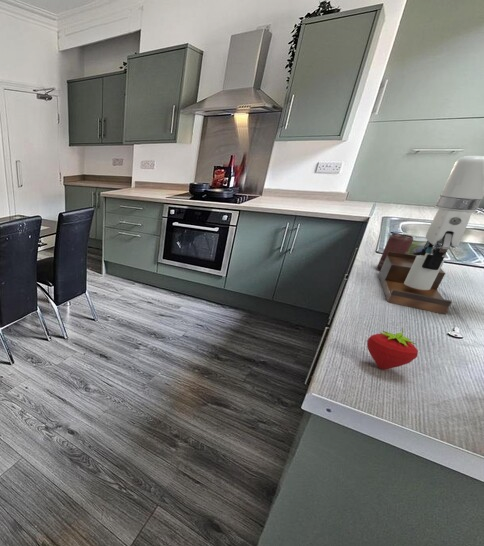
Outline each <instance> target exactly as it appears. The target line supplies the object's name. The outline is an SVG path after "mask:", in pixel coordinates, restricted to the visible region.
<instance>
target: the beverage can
mask: <svg viewBox="0 0 484 546" xmlns="http://www.w3.org/2000/svg"><path fill="white" fill-rule="evenodd" d="M426 242H427V239H426V237H415V238H414V237H413V242H412V244H411V246H410V248H409V251H408V253H407V254H412V255H420V254H421V252H422V249H424V246H425V244H426Z"/></svg>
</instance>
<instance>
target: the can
mask: <svg viewBox="0 0 484 546" xmlns="http://www.w3.org/2000/svg"><path fill="white" fill-rule="evenodd" d="M413 238H414V237H413V236H412V235H409V234H403V233H396V232H395V233H392V234H391V235H389V237H388V240H387V242H386V245H385V247H384V249H383V252H382V254H381V256H380V259H379V261H378V264H377V266H376V270H377V271H378V272H380V270H381V268H382V266H383V263H384V261H385V259H386V256H387V254H388V252H389V251H392V252H399V253H406V254H407V253H408V251H409V248H410V246H411V244H412V242H413Z"/></svg>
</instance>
